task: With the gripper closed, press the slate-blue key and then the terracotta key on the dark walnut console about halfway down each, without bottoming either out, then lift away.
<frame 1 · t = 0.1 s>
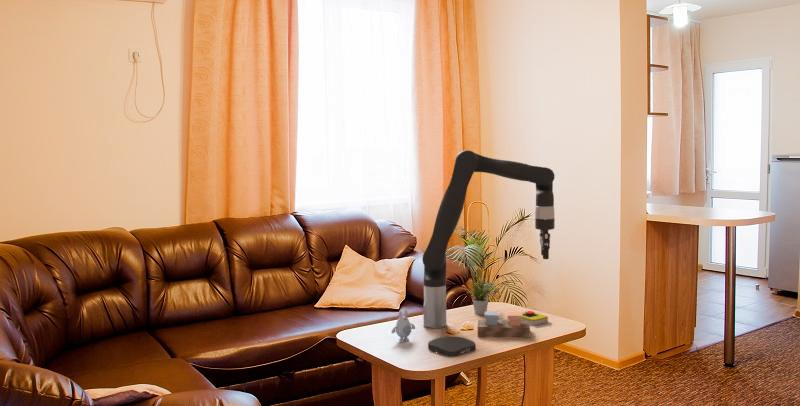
hand: (544, 257, 236), 29 cm above the table, tool pointing down, fingers open, 8 cm apart
toy figure: (403, 341, 225), on the table
media streaming box: (451, 350, 215), on the table
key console: (503, 333, 232), on the table
slate-blue key: (491, 318, 232), point 6 cm above the table, slide at 0.0 cm
terracotta key: (514, 319, 231), point 6 cm above the table, slide at 0.0 cm
house plant: (482, 314, 262), on the table
emergency button: (531, 323, 248), on the table
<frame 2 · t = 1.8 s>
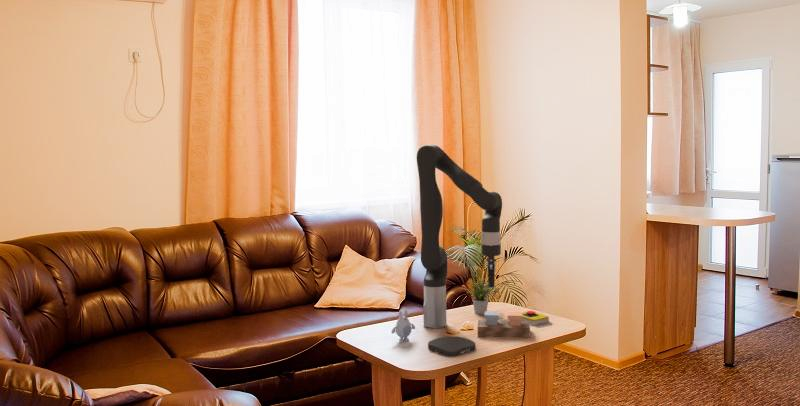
hand: (491, 286, 231), 19 cm above the table, tool pointing down, fingers closed
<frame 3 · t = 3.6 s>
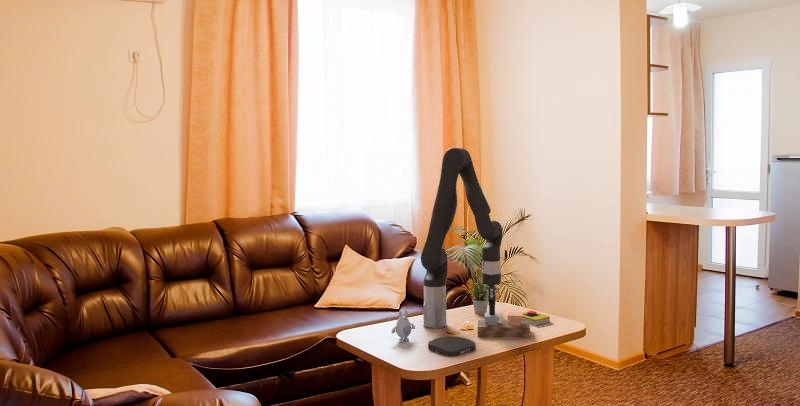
hand: (492, 314, 232), 8 cm above the table, tool pointing down, fingers closed
slate-blue key: (491, 319, 232), point 5 cm above the table, slide at 0.5 cm, touching gripper
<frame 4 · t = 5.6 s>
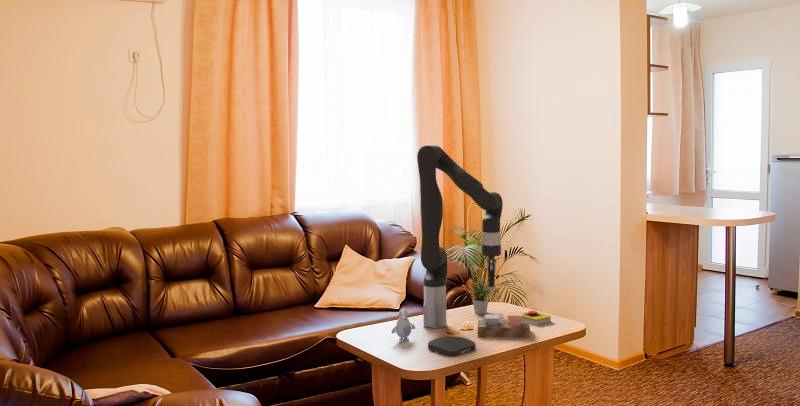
hand: (491, 286, 231), 19 cm above the table, tool pointing down, fingers closed
slate-blue key: (491, 321, 232), point 5 cm above the table, slide at 1.3 cm
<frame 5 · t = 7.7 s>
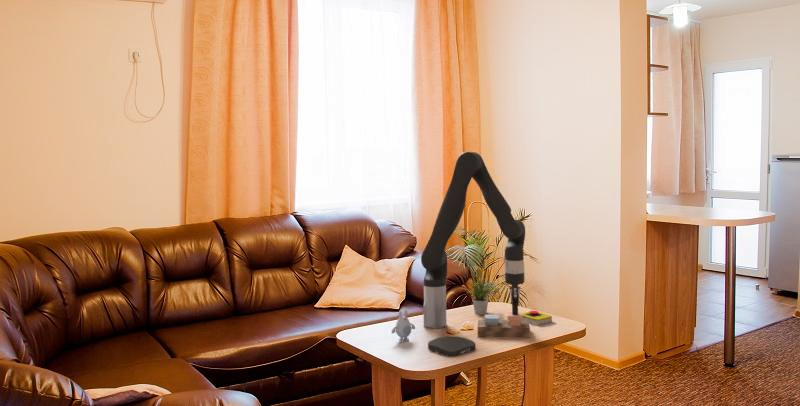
hand: (515, 314, 231), 8 cm above the table, tool pointing down, fingers closed
terracotta key: (514, 319, 231), point 6 cm above the table, slide at 0.2 cm, touching gripper
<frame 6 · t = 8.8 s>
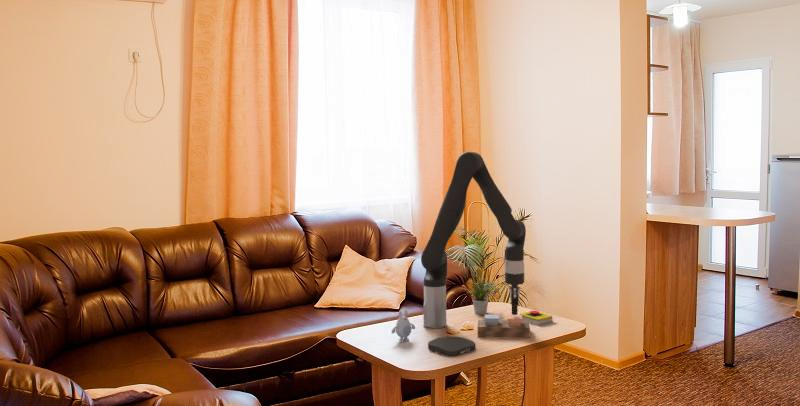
hand: (514, 314, 231), 8 cm above the table, tool pointing down, fingers closed
terracotta key: (514, 322, 231), point 5 cm above the table, slide at 1.2 cm
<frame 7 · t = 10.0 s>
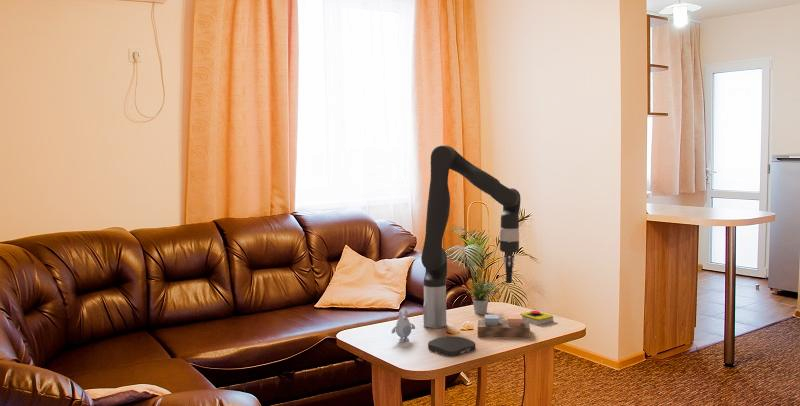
hand: (508, 282, 232), 20 cm above the table, tool pointing down, fingers closed
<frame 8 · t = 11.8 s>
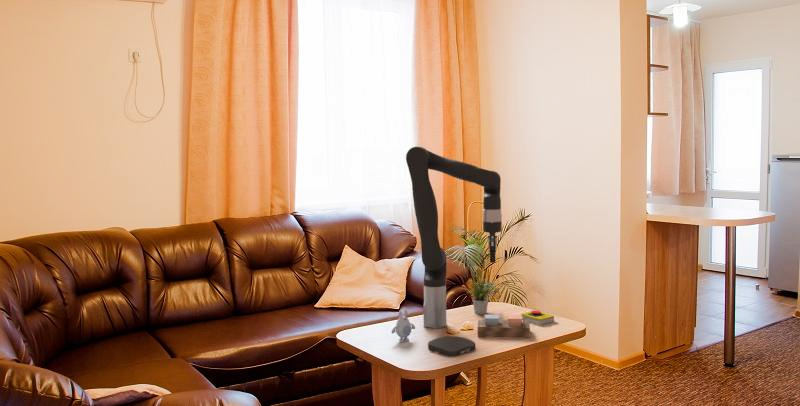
hand: (492, 262, 239), 27 cm above the table, tool pointing down, fingers closed
at the end: slate-blue key slide at 1.3 cm; terracotta key slide at 1.2 cm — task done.
